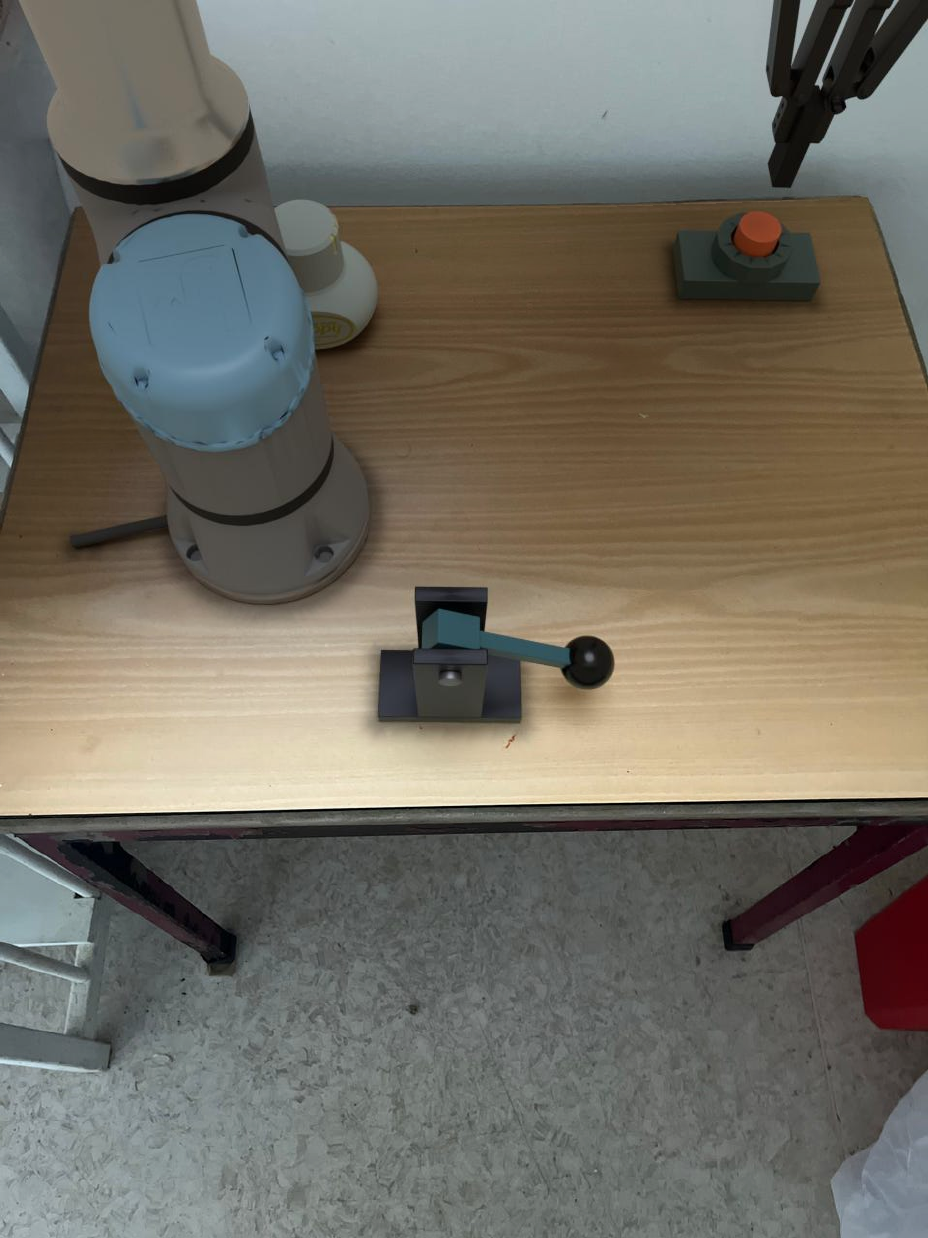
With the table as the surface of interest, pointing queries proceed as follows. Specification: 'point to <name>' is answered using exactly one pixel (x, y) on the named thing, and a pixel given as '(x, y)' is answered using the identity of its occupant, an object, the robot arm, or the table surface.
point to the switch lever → (523, 648)
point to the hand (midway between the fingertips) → (779, 175)
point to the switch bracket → (449, 671)
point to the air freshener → (327, 272)
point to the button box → (744, 266)
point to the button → (757, 234)
